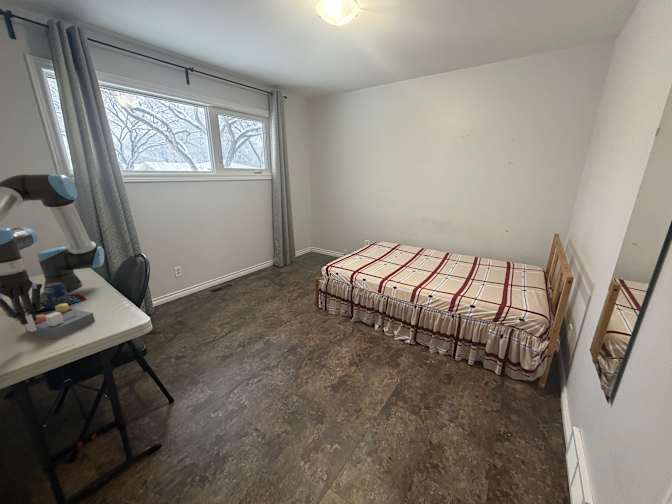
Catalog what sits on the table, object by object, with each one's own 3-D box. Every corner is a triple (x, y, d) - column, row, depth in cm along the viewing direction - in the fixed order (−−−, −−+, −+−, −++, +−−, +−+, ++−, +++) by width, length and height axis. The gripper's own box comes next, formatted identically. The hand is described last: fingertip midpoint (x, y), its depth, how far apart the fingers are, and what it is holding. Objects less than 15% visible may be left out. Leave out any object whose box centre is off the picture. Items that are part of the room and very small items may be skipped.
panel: (27, 331, 110) (23, 322, 109) (68, 314, 123) (65, 306, 122) (54, 339, 105) (51, 330, 104) (95, 321, 118) (92, 312, 117)
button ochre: (54, 312, 117) (52, 306, 116) (65, 308, 120) (63, 302, 120) (60, 314, 116) (58, 308, 115) (71, 309, 119) (69, 303, 118)
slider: (48, 325, 107) (44, 316, 106) (59, 320, 110) (56, 311, 109) (53, 326, 106) (50, 317, 105) (64, 321, 109) (61, 313, 108)
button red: (30, 324, 110) (28, 318, 109) (43, 319, 113) (41, 313, 113) (37, 326, 109) (34, 319, 108) (49, 321, 112) (47, 315, 111)
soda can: (58, 310, 127) (50, 287, 123) (46, 309, 128) (38, 286, 125) (74, 303, 133) (67, 281, 130) (63, 302, 134) (56, 280, 131)
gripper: (-12, 280, 88) (13, 341, 94) (40, 266, 99) (59, 322, 106) (-25, 277, 90) (1, 338, 97) (28, 264, 102) (48, 319, 109)
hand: (32, 329), depth 101 cm, fingers closed
